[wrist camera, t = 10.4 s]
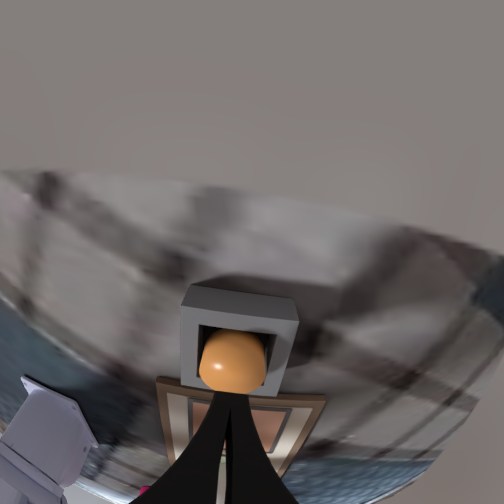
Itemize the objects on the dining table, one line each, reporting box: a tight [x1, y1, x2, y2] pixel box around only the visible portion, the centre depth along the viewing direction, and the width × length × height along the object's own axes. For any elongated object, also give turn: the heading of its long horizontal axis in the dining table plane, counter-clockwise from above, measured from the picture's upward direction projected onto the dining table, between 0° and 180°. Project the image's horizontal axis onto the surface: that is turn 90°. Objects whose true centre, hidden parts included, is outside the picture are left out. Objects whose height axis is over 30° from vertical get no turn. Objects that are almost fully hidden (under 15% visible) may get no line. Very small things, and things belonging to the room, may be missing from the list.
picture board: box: [155, 377, 326, 478], centre depth 20 cm, size 18×12×1 cm, turn 172°
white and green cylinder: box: [216, 463, 226, 504], centre depth 17 cm, size 4×4×8 cm
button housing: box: [180, 285, 299, 397], centre depth 14 cm, size 6×6×2 cm
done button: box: [199, 328, 265, 394], centre depth 13 cm, size 3×3×2 cm
